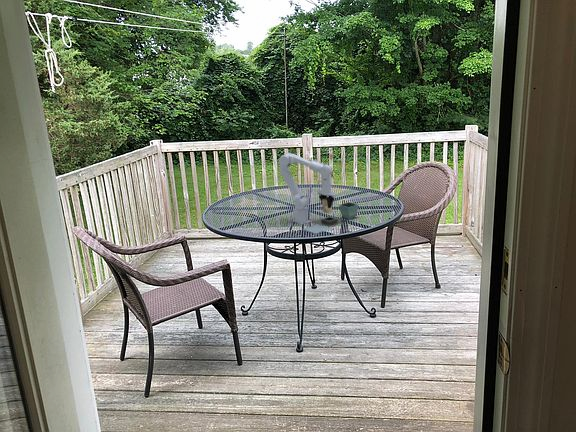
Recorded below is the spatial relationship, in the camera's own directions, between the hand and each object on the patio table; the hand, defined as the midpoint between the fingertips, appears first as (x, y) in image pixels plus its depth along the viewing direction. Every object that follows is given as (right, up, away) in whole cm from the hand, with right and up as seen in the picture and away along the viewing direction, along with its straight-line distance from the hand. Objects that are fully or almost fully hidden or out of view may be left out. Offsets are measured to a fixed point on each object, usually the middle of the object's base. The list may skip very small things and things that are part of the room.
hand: (327, 207), depth 280 cm
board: (-7, -13, -8) cm, 17 cm away
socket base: (+2, -9, +5) cm, 11 cm away
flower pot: (+15, -7, +11) cm, 20 cm away
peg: (0, -3, +1) cm, 3 cm away
